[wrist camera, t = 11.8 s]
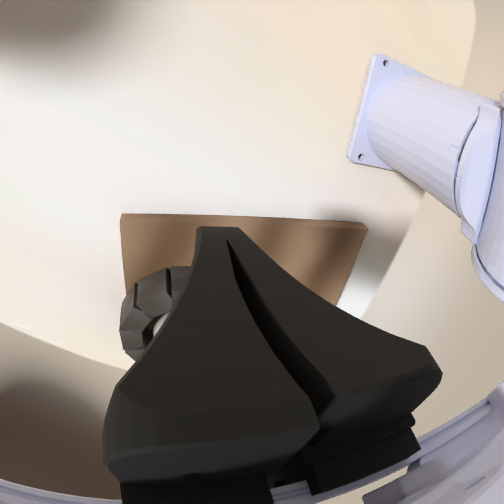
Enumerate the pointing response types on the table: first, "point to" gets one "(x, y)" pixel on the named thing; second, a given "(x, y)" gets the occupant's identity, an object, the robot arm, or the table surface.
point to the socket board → (182, 252)
